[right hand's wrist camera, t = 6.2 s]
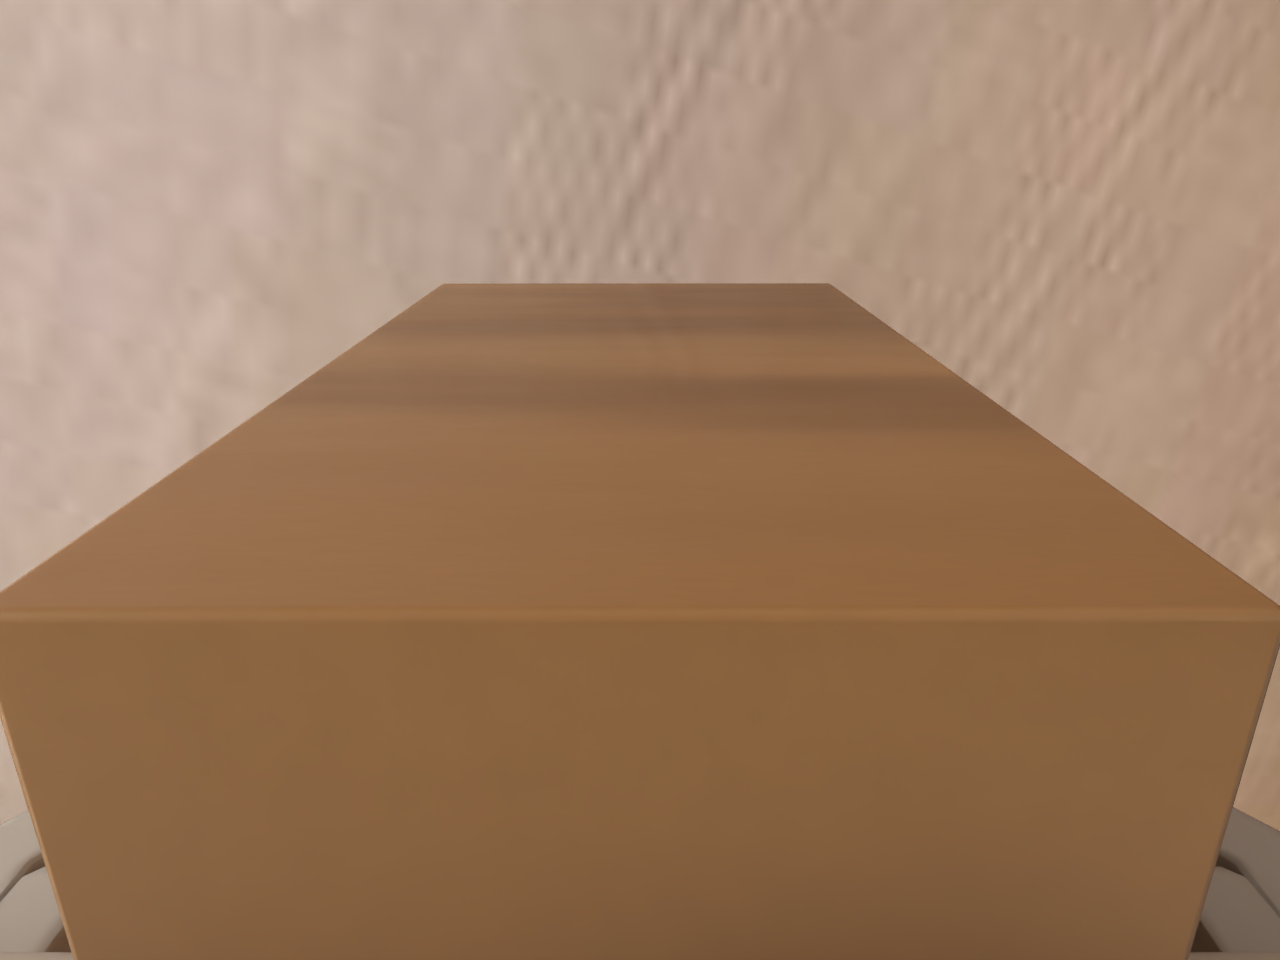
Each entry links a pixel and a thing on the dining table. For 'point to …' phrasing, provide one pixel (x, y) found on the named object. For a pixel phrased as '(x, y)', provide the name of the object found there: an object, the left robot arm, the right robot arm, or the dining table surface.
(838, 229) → the dining table surface
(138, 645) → the bar
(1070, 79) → the dining table surface
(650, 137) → the dining table surface
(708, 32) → the dining table surface
